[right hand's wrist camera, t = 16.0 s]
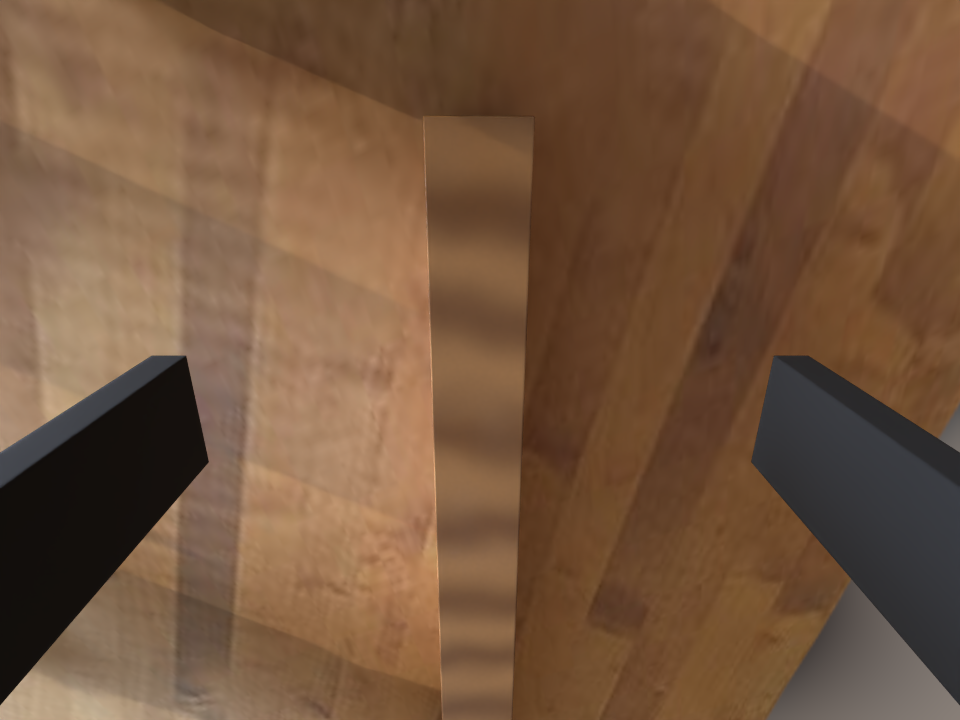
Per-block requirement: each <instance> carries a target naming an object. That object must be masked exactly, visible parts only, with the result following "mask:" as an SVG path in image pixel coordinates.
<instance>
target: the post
mask: <svg viewBox="0 0 960 720" xmlns="http://www.w3.org/2000/svg"><path fill="white" fill-rule="evenodd" d="M534 122H535V118H534V116H423V133H424V165H425V196H426V228H427V259H428V291H429V322H430V353H431V385H432V416H433V448H434V479H435V511H436V542H437V574H438V605H439V637H440V668H441V699H442V720H512V710H513V683H514V656H515V630H516V603H517V576H518V549H519V523H520V496H521V469H522V442H523V416H524V389H525V362H526V335H527V309H528V282H529V255H530V229H531V202H532V175H533V148H534Z"/></svg>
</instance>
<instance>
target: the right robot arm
mask: <svg viewBox="0 0 960 720" xmlns="http://www.w3.org/2000/svg"><path fill="white" fill-rule="evenodd" d="M208 462H209V461H208V456H207V451H206V447H205V442H204V437H203V433H202V428H201V423H200V419H199V414H198V409H197V405H196V400H195V395H194V390H193V386H192V381H191V376H190V372H189V367H188V362H187V358H186V356H151V357H149V358H147V359H146V360H144V361H143V362H141V363H140V364H138V365H137V366H135V367H133V368H132V369H130V370H129V371H127V372H126V373H124V374H122V375H121V376H119V377H118V378H116V379H115V380H113V381H111V382H110V383H108V384H107V385H105V386H104V387H102V388H101V389H99V390H97V391H96V392H94V393H93V394H91V395H90V396H88V397H86V398H85V399H83V400H82V401H80V402H79V403H77V404H76V405H74V406H72V407H71V408H69V409H68V410H66V411H65V412H63V413H61V414H60V415H58V416H57V417H55V418H54V419H52V420H51V421H49V422H47V423H46V424H44V425H43V426H41V427H40V428H38V429H36V430H35V431H33V432H32V433H30V434H29V435H27V436H26V437H24V438H22V439H21V440H19V441H18V442H16V443H15V444H13V445H11V446H10V447H8V448H7V449H5V450H4V451H2V452H1V453H0V705H1V704H2V703H3V701H4V700H5V699H6V698H7V697H8V696H9V694H10V693H11V692H12V691H13V690H14V689H15V687H16V686H17V685H18V684H19V683H20V682H21V680H22V679H23V678H24V677H25V676H26V675H27V673H28V672H29V671H30V670H31V669H32V668H33V666H34V665H35V664H36V663H37V662H38V661H39V659H40V658H41V657H42V656H43V655H44V654H45V652H46V651H47V650H48V649H49V648H50V647H51V645H52V644H53V643H54V642H55V641H56V640H57V638H58V637H59V636H60V635H61V634H62V633H63V631H64V630H65V629H66V628H67V627H68V626H69V624H70V623H71V622H72V621H73V620H74V619H75V617H76V616H77V615H78V614H79V613H80V612H81V610H82V609H83V608H84V607H85V606H86V605H87V603H88V602H89V601H90V600H91V599H92V598H93V596H94V595H95V594H96V593H97V592H98V591H99V589H100V588H101V587H102V586H103V585H104V584H105V582H106V581H107V580H108V579H109V578H110V577H111V575H112V574H113V573H114V572H115V571H116V570H117V568H118V567H119V566H120V565H121V564H122V563H123V561H124V560H125V559H126V558H127V557H128V556H129V554H130V553H131V552H132V551H133V550H134V549H135V547H136V546H137V545H138V544H139V543H140V542H141V540H142V539H143V538H144V537H145V536H146V535H147V533H148V532H149V531H150V530H151V529H152V528H153V526H154V525H155V524H156V523H157V522H158V521H159V519H160V518H161V517H162V516H163V515H164V514H165V512H166V511H167V510H168V509H169V508H170V507H171V505H172V504H173V503H174V502H175V501H176V500H177V498H178V497H179V496H180V495H181V494H182V493H183V492H184V490H185V489H186V488H187V487H188V486H189V485H190V483H191V482H192V481H193V480H194V479H195V478H196V476H197V475H198V474H199V473H200V472H201V471H202V469H203V468H204V467H205V466H206V465H207V464H208ZM751 462H752V464H753V465H754V466H755V467H756V468H757V469H758V471H759V472H760V473H761V474H762V475H763V476H764V478H765V479H766V480H767V481H768V482H769V483H770V485H771V486H772V487H773V488H774V489H775V490H776V492H777V493H778V494H779V495H780V496H781V497H782V498H783V500H784V501H785V502H786V503H787V504H788V505H789V507H790V508H791V509H792V510H793V511H794V512H795V514H796V515H797V516H798V517H799V518H800V519H801V521H802V522H803V523H804V524H805V525H806V526H807V528H808V529H809V530H810V531H811V532H812V533H813V535H814V536H815V537H816V538H817V539H818V540H819V542H820V543H821V544H822V545H823V546H824V547H825V549H826V550H827V551H828V552H829V553H830V554H831V556H832V557H833V558H834V559H835V560H836V561H837V563H838V564H839V565H840V566H841V567H842V568H843V570H844V571H845V572H846V573H847V574H848V575H849V577H850V578H851V579H852V580H853V581H854V582H855V584H856V585H857V586H858V587H859V588H860V589H861V591H862V592H863V593H864V594H865V595H866V596H867V598H868V599H869V600H870V601H871V602H872V603H873V605H874V606H875V607H876V608H877V609H878V610H879V612H880V613H881V614H882V615H883V616H884V617H885V619H886V620H887V621H888V622H889V623H890V624H891V626H892V627H893V628H894V629H895V630H896V631H897V633H898V634H899V635H900V636H901V637H902V638H903V640H904V641H905V642H906V643H907V644H908V645H909V647H910V648H911V649H912V650H913V651H914V652H915V654H916V655H917V656H918V657H919V658H920V659H921V661H922V662H923V663H924V664H925V665H926V666H927V668H928V669H929V670H930V671H931V672H932V673H933V675H934V676H935V677H936V678H937V679H938V680H939V682H940V683H941V684H942V685H943V686H944V687H945V689H946V690H947V691H948V692H949V693H950V694H951V696H952V697H953V698H954V699H955V700H956V701H957V703H958V704H959V705H960V453H959V452H958V451H956V450H955V449H953V448H952V447H950V446H949V445H947V444H945V443H944V442H942V441H941V440H939V439H938V438H936V437H934V436H933V435H931V434H930V433H928V432H927V431H925V430H924V429H922V428H920V427H919V426H917V425H916V424H914V423H913V422H911V421H909V420H908V419H906V418H905V417H903V416H902V415H900V414H899V413H897V412H895V411H894V410H892V409H891V408H889V407H888V406H886V405H884V404H883V403H881V402H880V401H878V400H877V399H875V398H874V397H872V396H870V395H869V394H867V393H866V392H864V391H863V390H861V389H859V388H858V387H856V386H855V385H853V384H852V383H850V382H849V381H847V380H845V379H844V378H842V377H841V376H839V375H838V374H836V373H834V372H833V371H831V370H830V369H828V368H827V367H825V366H823V365H822V364H820V363H819V362H817V361H816V360H814V359H813V358H811V357H809V356H774V358H773V362H772V367H771V372H770V376H769V381H768V386H767V390H766V395H765V400H764V405H763V409H762V414H761V419H760V423H759V428H758V433H757V437H756V442H755V447H754V451H753V456H752V461H751Z"/></svg>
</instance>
